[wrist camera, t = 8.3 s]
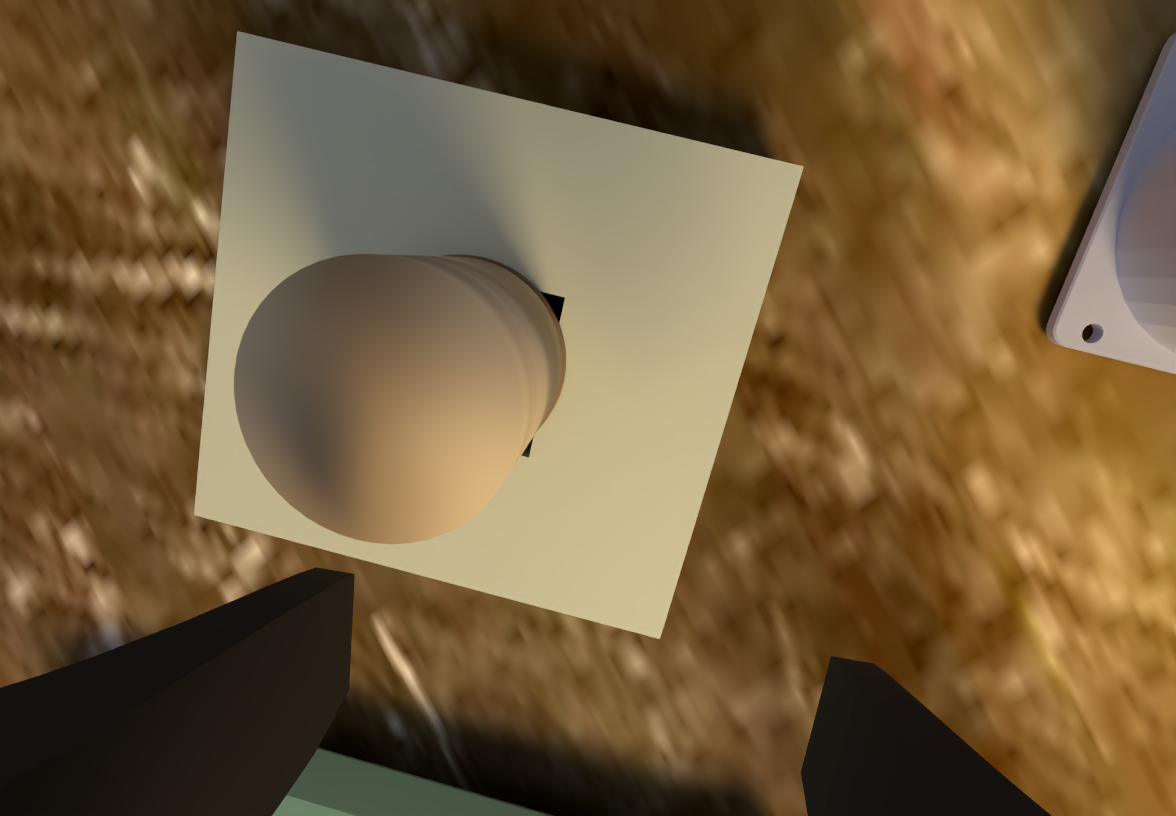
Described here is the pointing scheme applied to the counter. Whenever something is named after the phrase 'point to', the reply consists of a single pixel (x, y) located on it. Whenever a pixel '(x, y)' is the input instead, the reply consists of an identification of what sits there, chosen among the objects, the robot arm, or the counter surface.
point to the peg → (396, 389)
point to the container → (382, 793)
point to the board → (547, 259)
